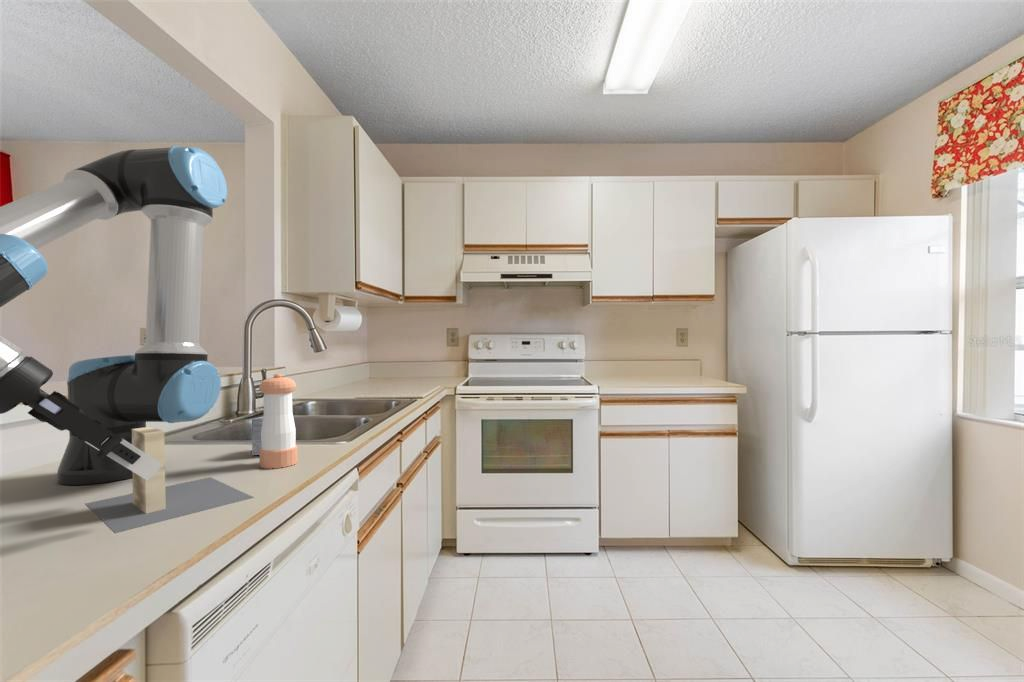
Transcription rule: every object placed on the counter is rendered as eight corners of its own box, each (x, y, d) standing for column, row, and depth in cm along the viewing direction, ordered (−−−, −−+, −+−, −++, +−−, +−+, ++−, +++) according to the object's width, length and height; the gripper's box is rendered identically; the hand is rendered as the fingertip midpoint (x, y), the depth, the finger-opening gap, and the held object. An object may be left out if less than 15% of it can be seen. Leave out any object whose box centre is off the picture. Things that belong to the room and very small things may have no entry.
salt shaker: (288, 457, 106) (286, 371, 106) (304, 463, 102) (302, 373, 101) (253, 465, 101) (252, 374, 100) (269, 470, 96) (267, 375, 96)
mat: (85, 505, 77) (85, 503, 77) (210, 478, 91) (210, 477, 91) (115, 535, 65) (115, 532, 65) (253, 499, 79) (253, 497, 79)
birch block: (133, 503, 77) (131, 429, 76) (152, 499, 78) (150, 426, 78) (145, 513, 72) (144, 434, 72) (165, 508, 74) (164, 431, 74)
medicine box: (268, 457, 107) (268, 418, 107) (251, 456, 108) (250, 418, 108) (291, 448, 115) (291, 413, 115) (275, 448, 116) (274, 412, 116)
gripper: (-37, 390, 68) (101, 472, 80) (-27, 404, 52) (143, 503, 64) (16, 352, 72) (140, 435, 84) (40, 354, 57) (188, 456, 68)
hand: (141, 465), depth 74 cm, fingers open, 13 cm apart
